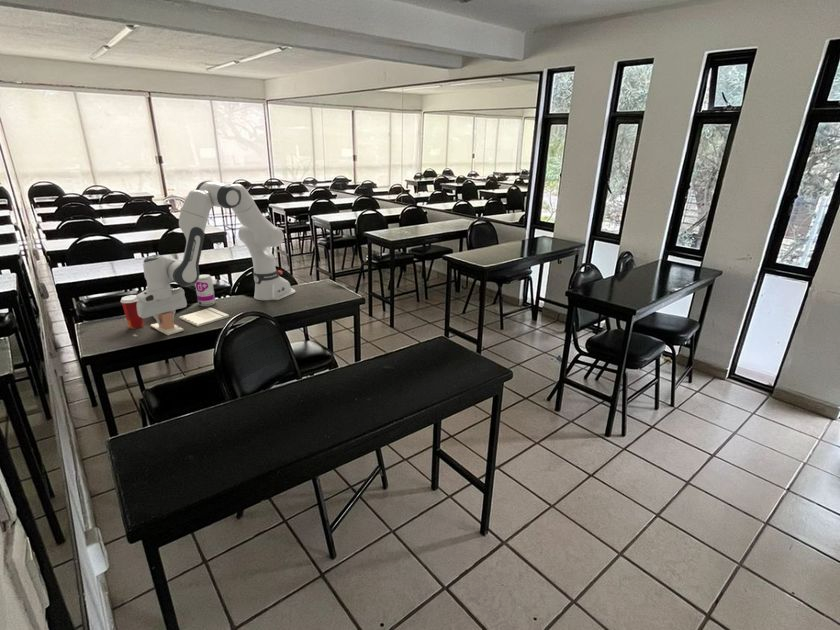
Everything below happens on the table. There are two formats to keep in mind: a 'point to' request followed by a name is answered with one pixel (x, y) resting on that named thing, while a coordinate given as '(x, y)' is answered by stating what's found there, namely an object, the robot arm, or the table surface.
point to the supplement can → (205, 290)
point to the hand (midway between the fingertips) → (165, 321)
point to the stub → (167, 324)
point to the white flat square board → (204, 317)
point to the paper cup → (131, 311)
